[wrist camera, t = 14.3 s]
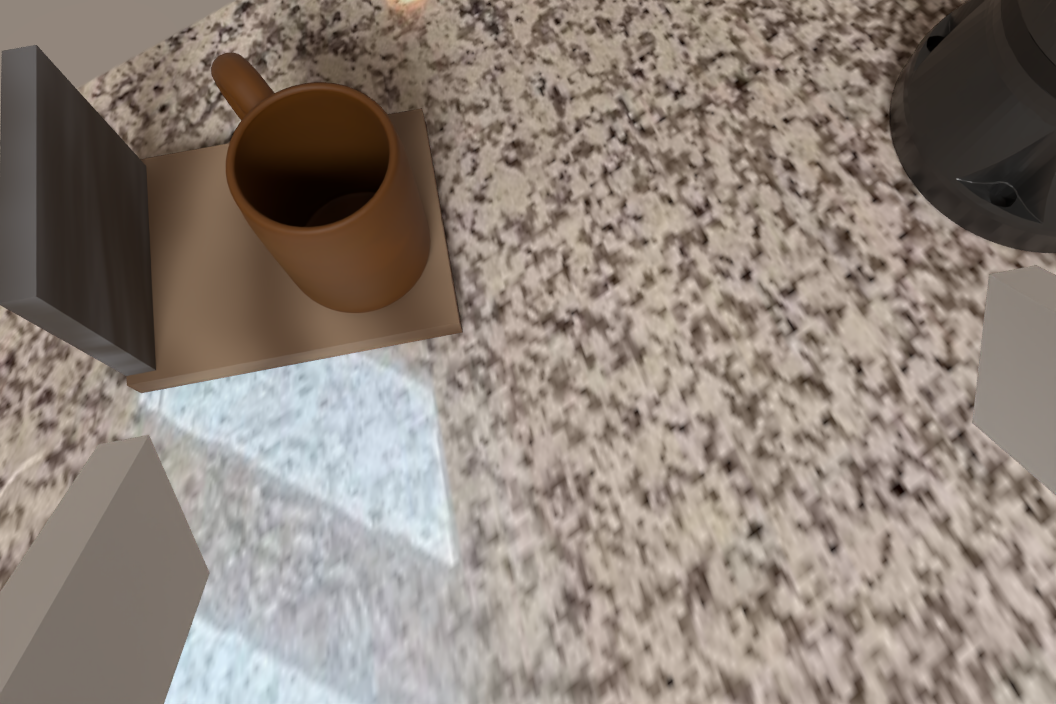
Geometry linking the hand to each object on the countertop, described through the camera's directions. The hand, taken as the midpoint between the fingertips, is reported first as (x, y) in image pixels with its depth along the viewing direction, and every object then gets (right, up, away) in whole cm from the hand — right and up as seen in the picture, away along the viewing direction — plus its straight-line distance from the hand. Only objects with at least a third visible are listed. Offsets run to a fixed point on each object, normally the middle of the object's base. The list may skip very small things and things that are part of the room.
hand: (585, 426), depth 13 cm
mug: (-11, +8, +31) cm, 34 cm away
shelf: (-14, +7, +32) cm, 35 cm away
